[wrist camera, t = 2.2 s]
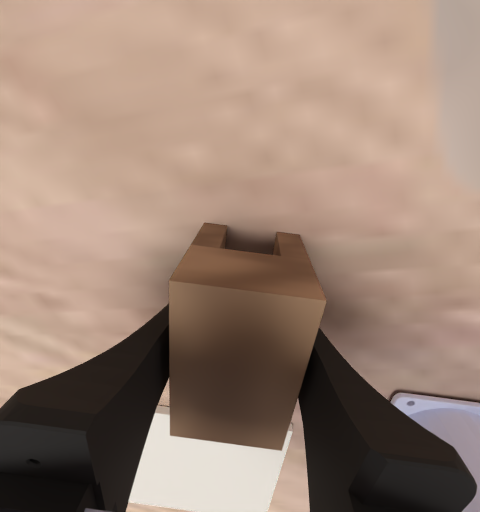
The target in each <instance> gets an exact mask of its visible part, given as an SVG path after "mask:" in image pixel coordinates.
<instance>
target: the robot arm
mask: <svg viewBox="0 0 480 512" xmlns="http://www.w3.org/2000/svg"><path fill="white" fill-rule="evenodd" d="M168 378H169V304H168V305H167V306H166V307H164V308H163V309H162V310H161V311H160V312H159V313H158V314H157V315H155V316H154V317H153V318H152V319H151V320H149V321H148V322H147V323H146V324H145V325H143V326H142V327H141V328H139V329H138V330H137V331H135V332H134V333H133V334H131V335H130V336H129V337H127V338H126V339H124V340H123V341H121V342H120V343H118V344H117V345H115V346H114V347H112V348H110V349H109V350H107V351H105V352H103V353H102V354H100V355H98V356H96V357H94V358H92V359H90V360H88V361H87V362H85V363H83V364H80V365H78V366H76V367H74V368H72V369H70V370H67V371H65V372H63V373H61V374H58V375H56V376H53V377H51V378H48V379H46V380H43V381H40V382H38V383H35V384H32V385H30V386H27V387H24V388H21V389H19V390H18V391H17V392H16V393H15V394H14V395H13V396H12V397H11V398H10V399H9V400H8V401H7V402H6V403H5V404H4V405H3V406H2V407H1V408H0V512H126V508H127V505H128V501H129V497H130V494H131V490H132V486H133V483H134V480H135V476H136V473H137V469H138V466H139V462H140V459H141V456H142V452H143V449H144V446H145V443H146V439H147V436H148V433H149V429H150V426H151V423H152V420H153V417H154V414H155V411H156V408H157V405H158V402H159V400H160V397H161V395H162V392H163V390H164V388H165V385H166V383H167V381H168ZM298 399H299V405H300V410H301V415H302V421H303V428H304V439H305V449H306V461H307V473H308V487H309V503H310V512H480V403H477V402H469V401H462V400H454V399H447V398H439V397H432V396H424V395H417V394H409V393H397V394H395V395H394V396H393V398H392V400H391V402H389V401H388V400H387V399H386V398H384V397H383V396H382V395H381V394H380V393H378V392H377V391H376V390H375V389H374V388H373V387H372V386H371V385H370V384H368V383H367V382H366V381H365V380H364V379H363V378H362V377H361V376H360V375H359V374H358V373H357V372H356V371H355V370H354V369H353V368H352V367H351V366H350V365H349V363H348V362H347V361H346V360H345V359H344V358H343V357H342V356H341V354H340V353H339V352H338V351H337V350H336V349H335V347H334V346H333V345H332V344H331V342H330V341H329V340H328V339H327V337H326V336H325V335H324V333H323V332H322V331H321V329H320V328H319V329H318V332H317V335H316V339H315V342H314V345H313V349H312V352H311V355H310V359H309V362H308V365H307V369H306V372H305V375H304V378H303V382H302V385H301V388H300V392H299V395H298Z"/></svg>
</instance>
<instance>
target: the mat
mask: <svg viewBox="0 0 480 512" xmlns="http://www.w3.org/2000/svg"><path fill="white" fill-rule="evenodd" d="M292 432H293V430H292V423H290V425H289V428H288V432H287V435H286V438H285V442H284V445H283V448H282V451H279V450H272V449H264V448H257V447H249V446H242V445H235V444H227V443H220V442H213V441H205V440H198V439H190V438H183V437H176V436H170V407H166V406H159V405H157V408H156V411H155V414H154V417H153V420H152V423H151V426H150V429H149V433H148V436H147V439H146V443H145V446H144V449H143V452H142V456H141V459H140V462H139V466H138V469H137V473H136V476H135V480H134V483H133V486H132V490H131V494H130V497H129V501H128V502H130V503H137V504H144V505H152V506H159V507H166V508H173V509H180V510H188V511H195V512H268V508H269V505H270V502H271V499H272V496H273V493H274V489H275V486H276V483H277V480H278V477H279V473H280V470H281V467H282V464H283V461H284V458H285V454H286V451H287V448H288V445H289V442H290V438H291V435H292Z"/></svg>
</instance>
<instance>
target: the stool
mask: <svg viewBox="0 0 480 512" xmlns="http://www.w3.org/2000/svg"><path fill="white" fill-rule="evenodd" d="M226 233H227V226H225V225H217V224H209V223H204V224H203V226H202V228H201V229H200V231H199V233H198V234H197V236H196V237H195V239H194V241H193V242H192V244H191V246H190V247H189V249H188V250H187V252H186V254H185V255H184V257H183V259H182V260H181V262H180V263H179V265H178V267H177V268H176V270H175V272H174V273H173V275H172V276H171V278H170V280H169V386H170V436H176V437H183V438H190V439H198V440H205V441H213V442H220V443H227V444H235V445H242V446H249V447H257V448H264V449H272V450H279V451H282V448H283V445H284V442H285V438H286V435H287V432H288V428H289V425H290V422H291V418H292V415H293V412H294V408H295V405H296V402H297V398H298V395H299V392H300V388H301V385H302V382H303V378H304V375H305V372H306V369H307V365H308V362H309V359H310V355H311V352H312V349H313V345H314V342H315V339H316V335H317V332H318V329H319V325H320V322H321V319H322V315H323V312H324V309H325V305H326V302H327V300H326V298H325V295H324V293H323V290H322V288H321V286H320V283H319V281H318V278H317V276H316V273H315V271H314V269H313V266H312V264H311V261H310V259H309V257H308V254H307V252H306V249H305V247H304V244H303V242H302V240H301V237H300V235H296V234H288V233H280V232H277V233H276V239H275V244H274V250H273V255H269V254H261V253H253V252H245V251H237V250H229V249H225V244H226Z"/></svg>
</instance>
